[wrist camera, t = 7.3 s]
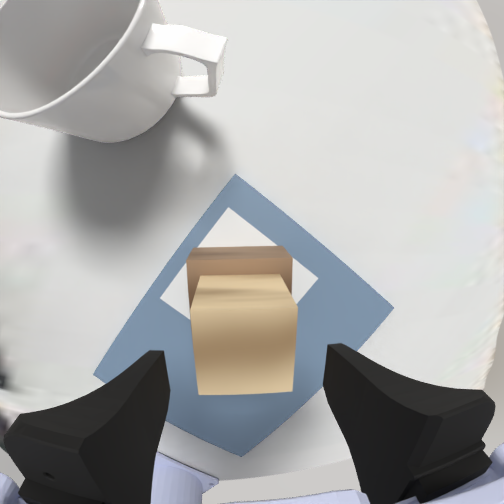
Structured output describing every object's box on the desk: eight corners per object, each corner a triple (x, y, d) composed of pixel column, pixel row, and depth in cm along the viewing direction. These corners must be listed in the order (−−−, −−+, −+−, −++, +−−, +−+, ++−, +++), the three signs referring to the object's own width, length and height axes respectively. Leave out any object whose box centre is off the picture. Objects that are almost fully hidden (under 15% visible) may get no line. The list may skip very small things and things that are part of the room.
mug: (57, 134, 18) (-47, 114, 8) (96, 30, 17) (28, -41, 6) (206, 168, 20) (180, 150, 9) (244, 52, 18) (259, -47, 7)
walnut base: (280, 326, 22) (289, 349, 19) (198, 328, 22) (193, 353, 18) (282, 245, 21) (292, 257, 18) (193, 247, 21) (186, 260, 17)
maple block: (277, 343, 19) (292, 391, 14) (204, 345, 18) (198, 394, 14) (279, 273, 18) (297, 307, 13) (200, 275, 17) (190, 310, 13)
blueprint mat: (241, 454, 26) (241, 457, 25) (94, 371, 23) (92, 374, 22) (391, 306, 23) (394, 307, 23) (235, 174, 20) (235, 173, 20)
